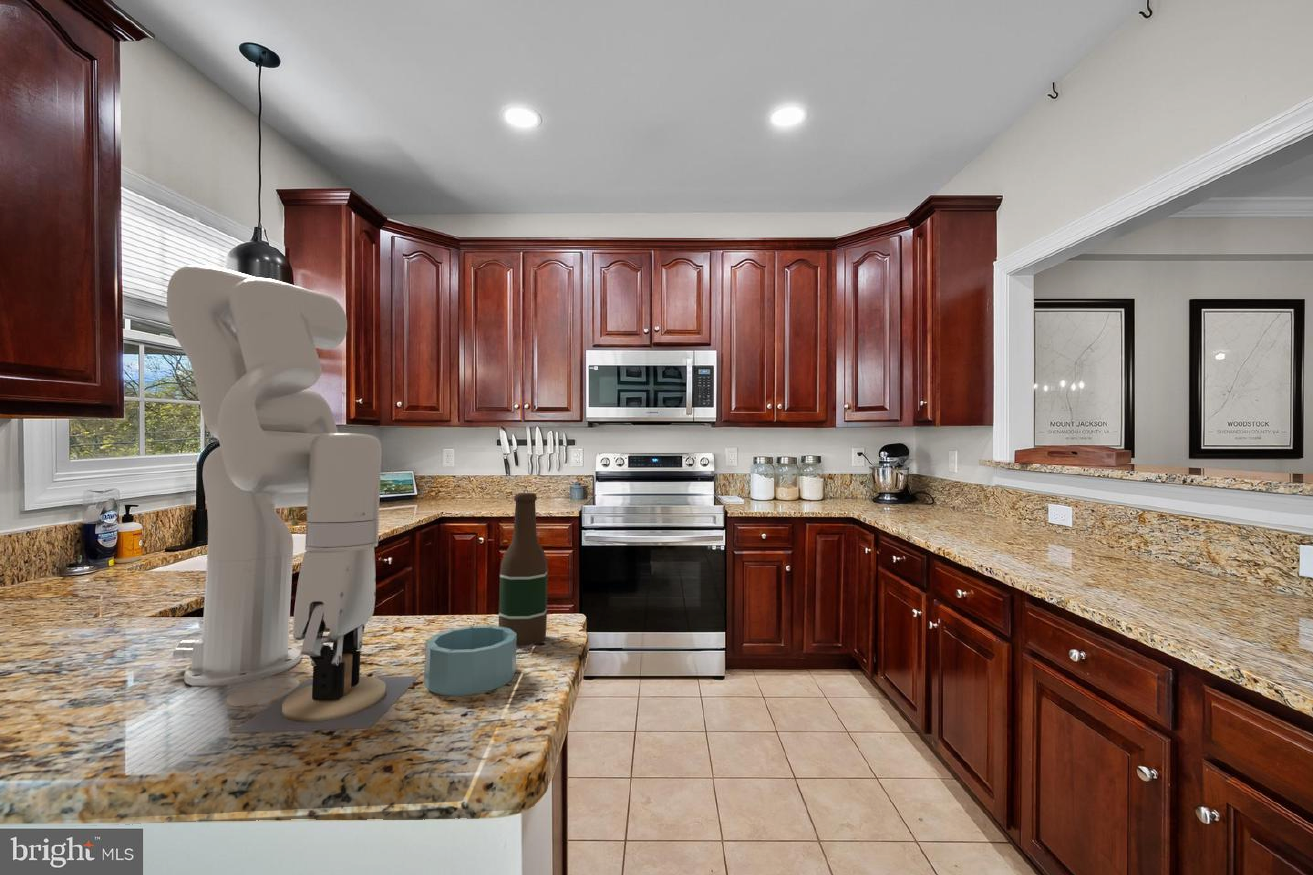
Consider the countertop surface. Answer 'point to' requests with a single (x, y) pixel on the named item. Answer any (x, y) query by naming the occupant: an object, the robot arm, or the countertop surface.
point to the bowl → (470, 660)
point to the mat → (365, 719)
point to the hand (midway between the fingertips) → (336, 690)
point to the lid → (352, 701)
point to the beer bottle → (524, 577)
